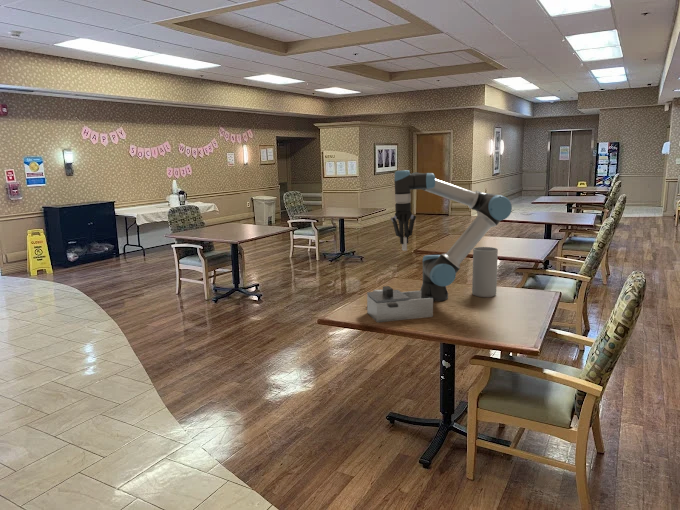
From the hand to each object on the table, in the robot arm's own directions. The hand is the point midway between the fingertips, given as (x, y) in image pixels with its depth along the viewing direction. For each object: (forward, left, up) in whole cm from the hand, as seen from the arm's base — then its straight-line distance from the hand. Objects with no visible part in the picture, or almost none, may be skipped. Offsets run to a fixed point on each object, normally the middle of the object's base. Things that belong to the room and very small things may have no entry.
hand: (404, 250), depth 257 cm
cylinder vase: (-48, -7, -29) cm, 57 cm away
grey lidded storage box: (+7, +13, -29) cm, 32 cm away
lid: (+13, +13, -19) cm, 27 cm away
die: (+12, -5, -29) cm, 32 cm away
